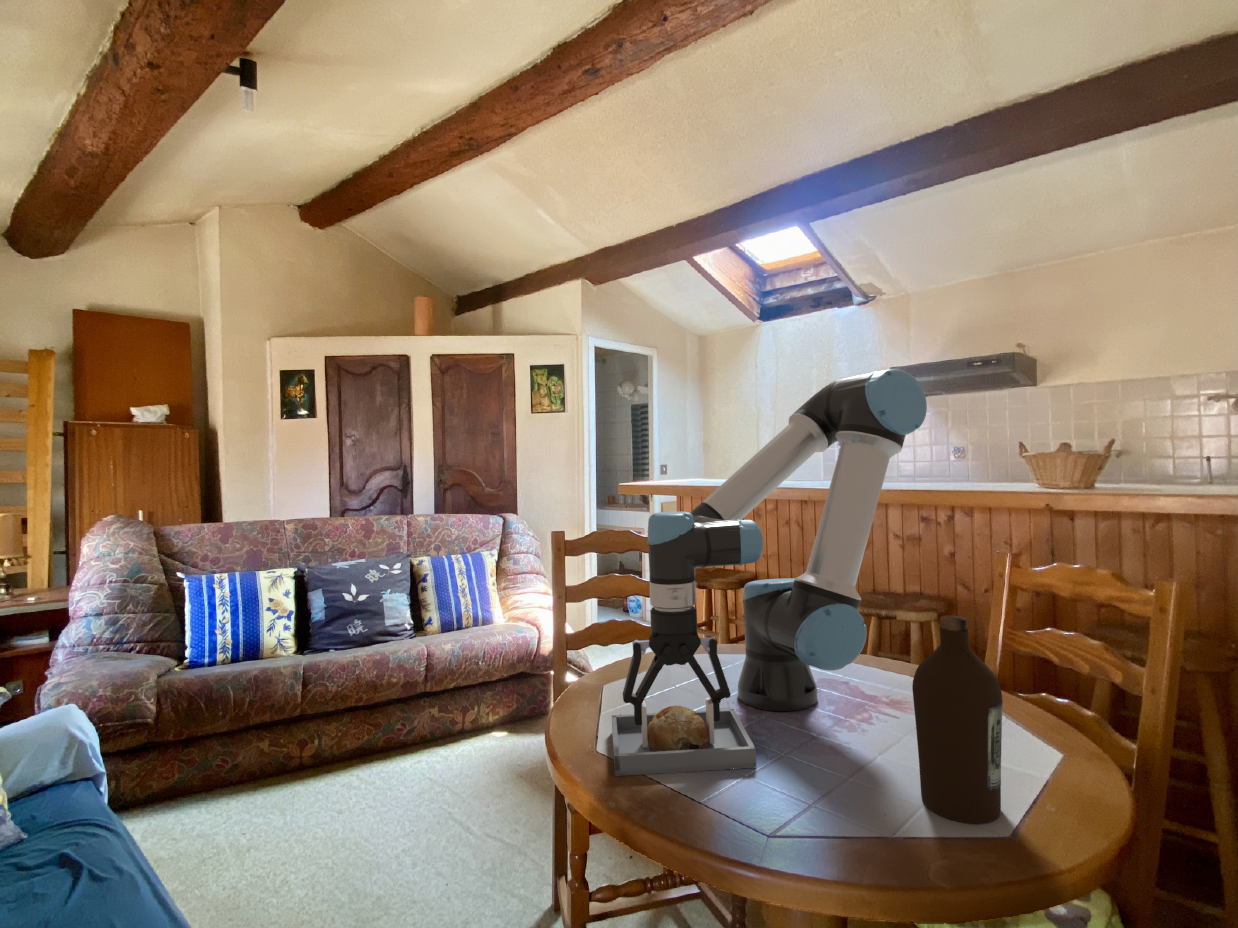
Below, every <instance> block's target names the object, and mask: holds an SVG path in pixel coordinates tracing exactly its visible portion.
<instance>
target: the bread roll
mask: <svg viewBox="0 0 1238 928" xmlns="http://www.w3.org/2000/svg"><path fill="white" fill-rule="evenodd" d="M695 711H696V710H693V709H690V708H689V707H686V706H682V705H670V706H667V707H665V708H663V709H661V710H659V711H658V712H656V713H657V714H656V715H654V717H653V719H652V721H651V722H650V723H649V725H648V728H647V739H648V744H649V745H650V747H651V748H652V749H653V751H654V752H659V751H677V750H694V749H706V748H707V747H708V744H709V740H710V734H709V730H708V726H707V725H706V723H705V721H704V720H703V719H702V718H701V717H700V716H698V715H697V713H696V712H695Z"/></svg>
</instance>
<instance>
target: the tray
mask: <svg viewBox="0 0 1238 928" xmlns="http://www.w3.org/2000/svg"><path fill="white" fill-rule="evenodd" d="M694 711H695V712H696V713H697V715H698V716H700V717H701V718H702V719H703V720H704V721H705V723H706V725H707V722H706V709H705V710H704V709H703V710H694ZM657 713H658V712H651V713H647V728H648V725H649V723H650V722H651V721H652V719H653V717H654V715H656V714H657ZM611 733H612V736H611V737H612V748H613V750H612V752H613V765H614V777H624V776H625V777H626V776H640V775H641V776H642V775H654V774H653V773H662V774H676V773H678V772H679V773H693V772H692V771H696V772H704V771H703V770H713V771H725V769H730V770H738V769H737V768H747V769H755V768H754V767H756V768H757V752H756V751H757V749H756V747H755V745H754V743H753V741H752V739H751V737H750V736H749V734H748V732H747V730H746V728H745V727H744V725H743V723H742V721H741V720H740V718H739V716H738V715H737V712H736V710H735V708H725V709H720V719H719V721H714V743H715V744H710V743H709V744H708V747H707V748H706V749H694V750H677V751H659V752H654V751H653V749H652V748H651V747H650V745H649V744H648V747H643V744H642V728H641V725H636V724H635V720H634V714H633V713H632V714H617V715H616V714H615V715H613V714H612V715H611ZM733 768H734V769H733ZM735 768H736V769H735ZM700 770H702V771H700ZM673 772H674V773H673Z"/></svg>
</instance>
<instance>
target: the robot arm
mask: <svg viewBox="0 0 1238 928" xmlns="http://www.w3.org/2000/svg"><path fill="white" fill-rule="evenodd" d="M927 409H928V404H927V397H926V395H925V391H924V390H923V389H922V388H921V384H920V382H919V381H918V379H916V378H915V377H914V376H913V375H912V374H910V373H909V372H908V371H905V370H902V369H897V368H890V369H877V370H874V371H872V372H869V373H863V374H857V375H854V376H847V377H843V378H839V379H836V380H833V381H831V382H830V383H828V384H827V385H825V386H824V387H822V388H821V389H820V390H819V391H817V392H816V393H815V394H814V395H812V396H811V397H810V398H809V399H808V400H806V401H805V402H804V403H803V404H802V405H801V406H799V408H798V409H797V410H795V412H793V413H792V414H791V415H790V416H788V424H787V425H786V426H784V428H783V429H782V430H781V431H780V432H778V433H777V434H776V435H775V436H774V437H772V439H771V440H769V441H768V442H767V443H766V444H765V445H764V446H763V447H762V448H761V449H760V450H758V451H757V452H756V453H755V454H754V455H753V456H752V457H751V458H749V460H747V461H746V462H745V463H744V464H743V465H742V466H741V467H740V468H738V470H736V471H735V472H734V473H733V474H731V475H730V477H729V478H727V480H725V481H724V482H723V483H722V484H721V485H720V486H719V487H717V488H716V489H715V490H714V491H713V492H712V493H711V494H710V495H709V496H707V497H706V498H705V499H704V500H703V501H702V502H700V503H699V504H698V505H696V507H695V508H694V509H692V510H691V511H660V512H654V513H653V514H651V515H650V516H649V518H648V522H647V523H648V526H647V539H646V544H647V549H648V551H647V552H648V553H647V554H648V569H649V603H650V606H651V607H652V608H651V609H650V610H649V612H650V636H649V638H648V639H646V640H645V639H644V640H643V639H642V640H639V639H638V638H635V639H633V640H632V643H631V644H632V657H631V661H630V664H629V668H628V670H627V671H628V672H627V677H626V679H625V683H624V686H623V691H622V700H623V703H626V704H632V705H633V711H634V720H635V724H636V725H641V728H642V744H643V747H648V739H647V714H648V713H647V712H648V711H647V704H646V701H645V699H646V698H647V695H648V693H649V691H650V690H651V688H652V686H653V683H654V682H655V680H656V678H657V677H658V675H659V673H660V672H661V670H662V669H663V667H664V665H665V666H667V667H668V666H673V665H679V666H686V664H689V666H690V668H691V669H692V671H693V673H694V674H695V675H696V677H697V678H698V680H699V682H700V683H701V685H702V686H703V688H704V690H705V691H706V693H707V694H708V696H709V697H705V710H706V722H707V726H708V730H709V734H710V740H709V743H710V744H715V743H714V721H719V719H720V710H721V709H720V705H721V704H720V703H721V701H722V700H723V699H729V698H730V697H731V695H732V694H731V691H730V688H729V685H728V682H727V679H726V677H725V673H724V670H723V667H722V664H721V662H720V658H719V656H718V655H719V654H718V641H717V640H716V637H714V636H713V635H708V637H700V636H699V635H698V620H697V619H698V618H697V617H698V616H697V608H695V605H696V604H697V597H696V596H697V594H696V569H704V568H715V567H726V566H727V567H728V566H742V565H748V564H753V563H756V562H757V561H759V560H760V558H761V556H762V554H763V550H764V537H763V533H762V530H761V528H760V526H759V524H758V523H757V522H756V521H754V520H751V519H744V518H746V516H748V514H750V513H751V511H753V510H754V509H755V508H756V507H757V506H759V504H761V502H763V501H764V500H765V499H766V498H767V497H768V496H769V495H770V494H771V493H772V492H774V491H775V490H776V489H777V488H778V487H779V486H781V484H782V483H783V482H785V480H787V479H788V478H789V477H790V476H791V475H792V474H793V473H795V471H797V469H798V468H800V467H802V465H803V464H804V463H805V462H806V461H808V459H810V458H811V457H812V456H813V455H814V454H815V453H823V452H825V451H826V450H827V449H828V448H829V447H831V446H832V445H833V444H835V443H839V445H840V449H839V453H838V456H837V460H836V464H835V467H834V471H833V474H832V477H831V480H830V481H831V482H830V484H829V488H828V492H827V496H826V499H825V502H824V506H823V508H822V513H821V516H820V521H819V524H818V528H817V530H816V531H817V532H816V535H815V538H814V541H813V545H812V548H811V552H810V556H809V560H808V562H807V566H806V567H807V568H806V570H805V572H804V573H803V574H800V575H799V576H797V577H795V578H793V577H792V578H791V577H790V578H789V577H787V578H786V577H785V578H783V577H782V578H771V579H770V578H767V579H759V580H757V579H756V580H753V581H752V580H751V581H749V582H746V583H745V584H744V587H743V597H742V604H743V624H744V641H745V642H744V644H745V645H744V647H745V649H744V650H745V659H744V661H743V665H742V669H741V672H740V676H739V679H738V681H737V694H738V695H737V696H738V698H739V700H740V701H741V702H742V703H744V704H746V705H747V706H751V707H753V708H756V709H760V710H765V711H771V712H772V711H775V712H793V711H800V710H804V709H807V708H810V707H812V706H814V705H815V704H816V703H817V702H818V687H817V683H816V681H815V678H814V676H813V673H812V671H811V667H813V668H817V669H819V670H821V671H838V670H842V669H844V668H845V667H846V666H848V665H850V664H852V663H854V661H855V660H856V659H858V657H859V656H860V654H861V652H863V649H864V647H865V644H866V641H867V633H868V631H867V629H868V628H867V625H866V624H865V623H864V622H865V619H864V617H863V615H862V614H861V612H859V609H860V606H861V602H862V598H861V597H862V596H860V594H859V592H858V590H857V588H856V584H857V582H858V581H857V580H858V577H859V573H860V570H861V566H862V562H863V558H864V555H865V552H866V551H865V550H866V548H867V544H868V541H869V538H870V534H871V533H870V532H871V529H872V527H873V521H874V517H875V514H876V511H877V507H878V503H879V499H880V495H881V492H882V489H883V485H884V481H885V479H886V473H887V469H888V467H889V462H890V459H891V458H892V457H894V456H896V455H897V454H899V453H901V452H902V450H903V446H904V442H905V439H906V435H909V434H911V433H913V432H916V430H918V429H920V427H921V426H922V425H923V423H924V421H925V420H926V415H927ZM700 646H702V648H703V649H704V651H705V652H707V654H708V658H709V660H710V664H711V666H712V669H713V671H714V675H715V678H716V681H717V683H718V687H719V688H718V689H716V688H715V687H714V686H713V684H712V682H711V681H710V679H709V678H708V676H707V675H706V673H705V672H704V670H703V668H702V667H701V666H700V665H701V664H699V662H698V660H697V659H696V657H695V653H696V652H697V650H698V649H699V648H700ZM648 648H650V650H651V651H652V652H653V653H654V656H653V658H652V661H651V663H650V665H649V668H648V669H647V671H646V672H645V675H644V677H643V678H642V680H641V682H640V684H639V685H638V688H637V689H636V692H635V693H634V689H635V685H636V681H637V677H638V673H639V669H640V665H641V663H642V655H645V654H646V651H647V649H648Z"/></svg>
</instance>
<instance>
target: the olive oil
mask: <svg viewBox="0 0 1238 928" xmlns="http://www.w3.org/2000/svg"><path fill="white" fill-rule="evenodd" d="M939 620H940V626H939V638H940V643H939V646H938V647H937V648H936V649H934V650H933V652H931V653H930V654H929V655H928V656H926V658H925V659H923V661H921V662H920V664H919V665H918V666H917V668H916V669H915V672H914V675H913V679H912V685H911V686H912V688H911V689H912V698H913V699H912V700H913V707H914V709H913V710H914V719H915V728H916V729H915V732H916V742H917V753H918V767H919V779H920V780H919V781H920V783H919V784H920V795H921V800H922V802H923V804H924V805H925V806H926V807H927V808H928V809H929V810H930V811H932V812H933V813H936V814H937V815H939V816H941V817H943V818H946V819H949V820H952V821H956V822H960V823H966V824H984V823H985V824H986V823H990V822H994V821H995V820H997V819H998V818H999V817H1000V815H1001V809H1002V804H1001V803H1002V802H1001V801H1002V800H1001V799H1002V798H1001V797H1002V792H1001V791H1002V790H1001V789H1002V788H1001V786H1002V738H1003V737H1002V736H1003V735H1002V734H1003V733H1002V730H1003V728H1002V727H1003V702H1004V701H1003V692H1002V689H1001V686H1000V683H999V681H998V680H999V679H998V678H997V677H996V675H995V673H994V672H993V671H992V669H991V668H990V667H989V666H987V664H986V663H985V662H983V660H982V659H981V658H980V657H979V656H978V655H977V654H976V653H975V652H974V651H973V650H972V649H971V648H970V646H969V628H967V625H968V619H967V618H966V617H963V616H960V615H942V616H940V617H939Z"/></svg>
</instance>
